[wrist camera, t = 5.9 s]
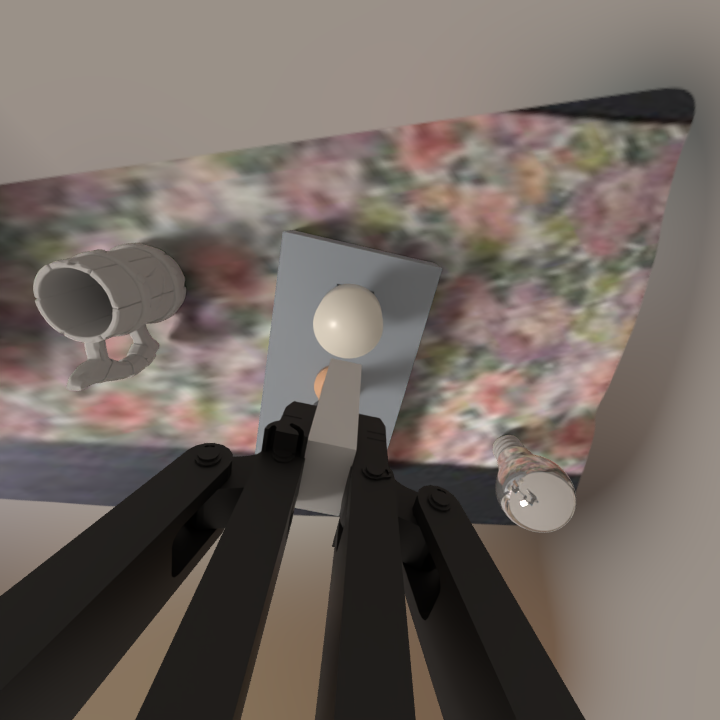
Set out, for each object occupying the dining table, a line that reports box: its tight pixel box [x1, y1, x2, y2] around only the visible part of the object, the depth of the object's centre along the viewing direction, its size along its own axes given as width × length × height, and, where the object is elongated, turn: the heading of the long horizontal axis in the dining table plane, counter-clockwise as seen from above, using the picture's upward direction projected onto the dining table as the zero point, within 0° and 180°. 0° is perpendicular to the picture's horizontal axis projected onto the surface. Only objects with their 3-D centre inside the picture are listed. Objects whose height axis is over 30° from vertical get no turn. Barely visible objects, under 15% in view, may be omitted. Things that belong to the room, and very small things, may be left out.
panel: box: [255, 230, 442, 454], centre depth 36 cm, size 14×26×4 cm, turn 168°
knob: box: [313, 284, 383, 359], centre depth 29 cm, size 5×5×7 cm
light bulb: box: [492, 435, 576, 532], centre depth 36 cm, size 7×7×12 cm
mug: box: [33, 243, 186, 391], centre depth 30 cm, size 8×12×12 cm, turn 176°
